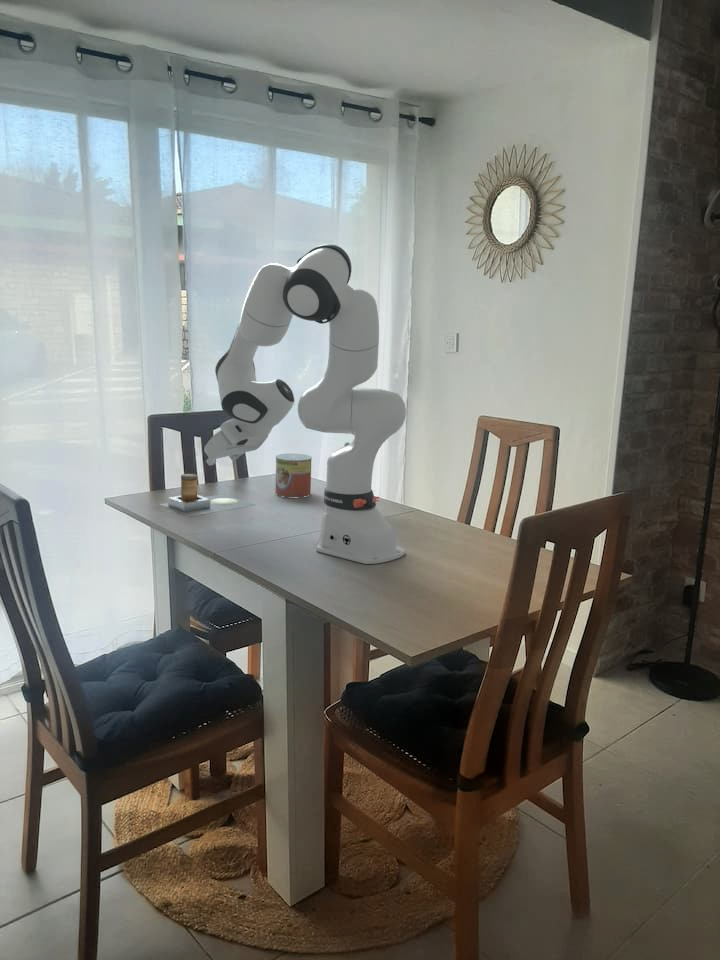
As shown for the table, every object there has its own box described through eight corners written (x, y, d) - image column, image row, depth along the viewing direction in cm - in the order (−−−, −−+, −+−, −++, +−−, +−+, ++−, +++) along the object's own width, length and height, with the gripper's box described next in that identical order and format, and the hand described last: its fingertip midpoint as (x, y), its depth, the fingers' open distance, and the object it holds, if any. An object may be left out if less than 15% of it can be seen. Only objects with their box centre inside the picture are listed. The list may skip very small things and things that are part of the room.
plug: (200, 507, 205) (200, 476, 203) (186, 509, 202) (186, 478, 200) (191, 503, 208) (191, 473, 206) (178, 506, 205) (178, 475, 203)
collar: (210, 507, 205) (210, 499, 204) (184, 512, 199) (184, 503, 198) (194, 501, 210) (194, 493, 210) (168, 505, 205) (168, 497, 204)
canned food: (267, 493, 228) (268, 456, 226) (291, 488, 238) (292, 452, 235) (294, 500, 222) (295, 461, 220) (317, 494, 231) (319, 457, 229)
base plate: (255, 508, 210) (255, 504, 210) (189, 520, 195) (189, 516, 195) (224, 497, 221) (224, 493, 221) (159, 508, 206) (159, 504, 206)
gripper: (267, 415, 198) (238, 446, 205) (218, 423, 181) (188, 456, 187) (280, 433, 197) (251, 463, 204) (232, 443, 180) (202, 476, 186)
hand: (220, 460), depth 195 cm, fingers open, 8 cm apart
